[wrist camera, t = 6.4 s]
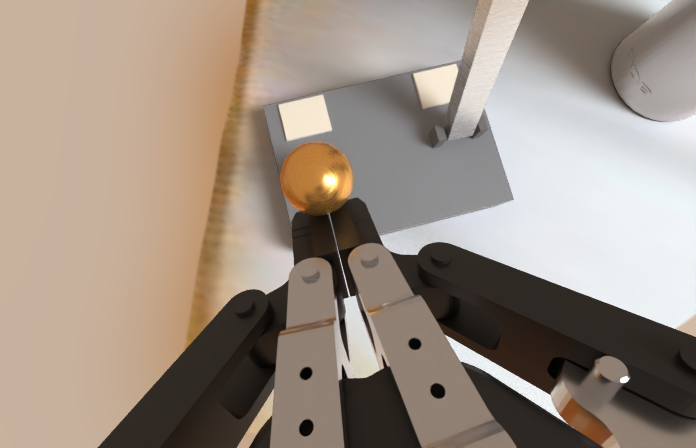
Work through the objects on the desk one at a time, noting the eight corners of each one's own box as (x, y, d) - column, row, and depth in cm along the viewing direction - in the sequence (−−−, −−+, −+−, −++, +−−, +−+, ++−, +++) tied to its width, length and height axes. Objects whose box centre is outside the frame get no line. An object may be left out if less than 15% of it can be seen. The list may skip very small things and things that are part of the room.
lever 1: (329, 146, 23) (348, 130, 9) (336, 178, 23) (366, 211, 9) (297, 154, 23) (265, 150, 9) (305, 185, 23) (288, 231, 9)
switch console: (454, 80, 28) (476, 45, 23) (494, 206, 26) (525, 195, 22) (271, 123, 27) (257, 95, 23) (303, 255, 26) (294, 253, 21)
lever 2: (465, 117, 24) (574, -184, 11) (478, 140, 23) (616, -165, 10) (436, 125, 24) (512, -172, 11) (448, 148, 23) (547, -150, 10)
